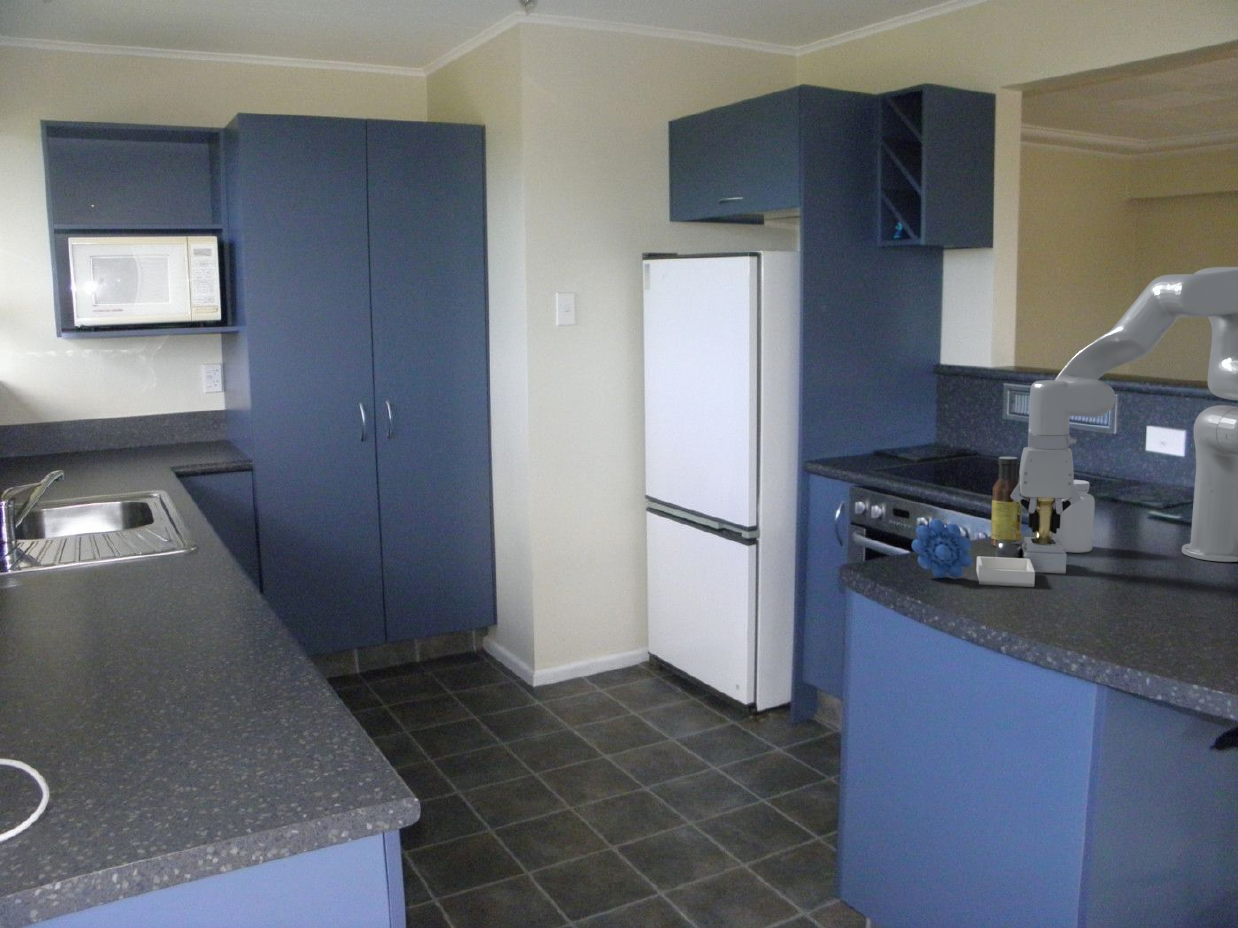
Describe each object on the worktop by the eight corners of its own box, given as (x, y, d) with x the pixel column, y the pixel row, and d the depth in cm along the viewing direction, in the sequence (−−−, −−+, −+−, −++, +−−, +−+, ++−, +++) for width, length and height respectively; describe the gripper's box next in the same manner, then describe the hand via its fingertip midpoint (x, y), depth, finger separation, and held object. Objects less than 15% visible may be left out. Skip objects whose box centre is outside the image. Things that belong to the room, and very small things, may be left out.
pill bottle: (1090, 545, 232) (1094, 478, 230) (1093, 554, 225) (1097, 485, 222) (1051, 543, 235) (1054, 477, 232) (1053, 552, 227) (1057, 484, 225)
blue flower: (911, 582, 207) (913, 523, 205) (910, 573, 213) (911, 515, 211) (973, 585, 204) (976, 525, 202) (970, 576, 211) (972, 517, 209)
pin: (1052, 546, 216) (1054, 493, 215) (1054, 551, 213) (1057, 496, 211) (1031, 545, 218) (1033, 492, 216) (1033, 550, 214) (1035, 496, 212)
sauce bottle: (1022, 550, 230) (1026, 460, 226) (992, 549, 231) (996, 460, 228) (1017, 542, 236) (1021, 455, 233) (988, 542, 237) (991, 455, 234)
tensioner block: (1060, 563, 219) (1061, 537, 218) (1065, 573, 211) (1067, 546, 210) (994, 560, 222) (995, 534, 221) (996, 570, 214) (997, 544, 213)
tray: (1028, 573, 212) (1029, 558, 211) (1034, 587, 202) (1034, 571, 202) (976, 570, 214) (976, 556, 214) (979, 584, 205) (979, 569, 204)
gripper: (1089, 440, 213) (1084, 529, 216) (1003, 438, 217) (999, 525, 220) (1095, 446, 206) (1090, 537, 209) (1006, 444, 210) (1002, 534, 213)
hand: (1043, 530), depth 214 cm, fingers closed on pin, 3 cm apart
